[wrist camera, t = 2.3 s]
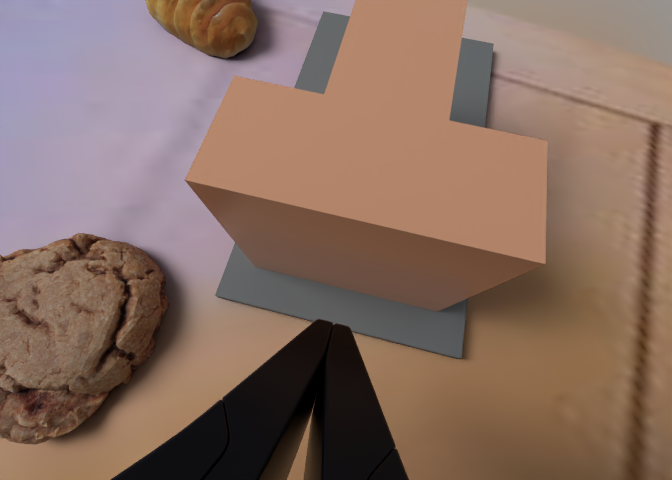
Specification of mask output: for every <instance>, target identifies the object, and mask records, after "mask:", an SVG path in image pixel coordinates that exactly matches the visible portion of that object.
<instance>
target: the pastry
mask: <svg viewBox="0 0 672 480" xmlns="http://www.w3.org/2000/svg"><path fill="white" fill-rule="evenodd" d="M145 1H146V4H147V8H148V10H149V13H150V14H151V15H152V17H153V18H154V19H155V20H156V21H157V22H158V23H159V24H160V25H161V26H162V27H163V28H164V29H165V30H166V31H168V32H169V33H171V34H173V35H174V36H175V37H177V38H179V39H180V40H182V41H183V42H185V43H187V44H189V45H191V46H193V47H194V48H196V49H198V50H200V51H202V52H203V53H206V54H208V55H210V56H211V55H213V56H218V57H222V58H228V57H232V56H234V55H236V54H237V53H238V52H240V51H242V50H244V49H246V48H247V47H248V46H249V45H250V44H251V43H252V42H253V40H254V38H255V33H256V29H257V26H258V20H257V18H256V16H255V14H254V12H253V10H252V5H251V1H250V0H145Z"/></svg>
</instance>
